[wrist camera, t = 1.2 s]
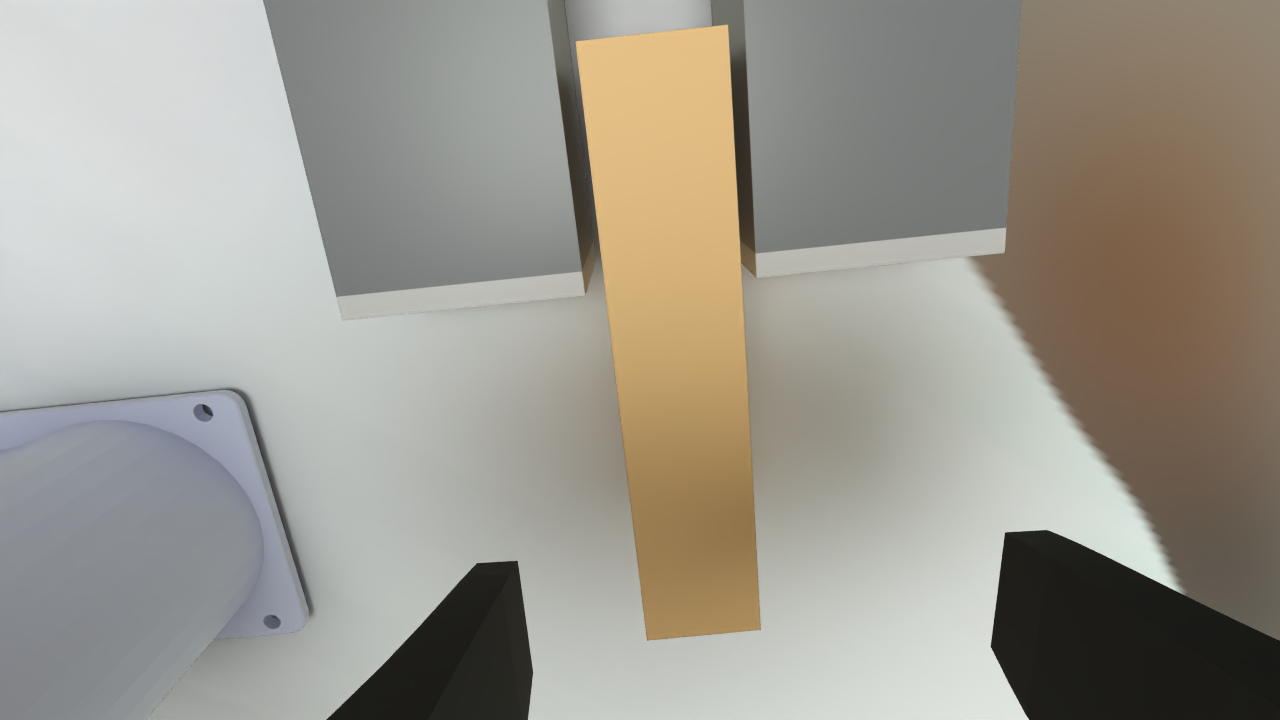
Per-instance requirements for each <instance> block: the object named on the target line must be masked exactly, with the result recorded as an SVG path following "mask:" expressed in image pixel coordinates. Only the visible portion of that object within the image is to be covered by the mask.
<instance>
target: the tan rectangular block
mask: <svg viewBox="0 0 1280 720" xmlns="http://www.w3.org/2000/svg"><path fill="white" fill-rule="evenodd" d="M576 50H577V58H578V66H579V75H580V83H581V91H582V100H583V108H584V117H585V125H586V133H587V142H588V150H589V159H590V167H591V175H592V184H593V192H594V200H595V209H596V217H597V226H598V234H599V242H600V251H601V259H602V268H603V276H604V284H605V293H606V301H607V309H608V318H609V326H610V335H611V343H612V351H613V360H614V368H615V377H616V385H617V393H618V402H619V410H620V418H621V427H622V435H623V444H624V452H625V460H626V469H627V477H628V486H629V494H630V502H631V511H632V519H633V527H634V536H635V544H636V553H637V561H638V569H639V578H640V586H641V594H642V603H643V611H644V620H645V628H646V636H647V640H657V639H668V638H679V637H689V636H700V635H711V634H721V633H732V632H743V631H753V630H761V624H760V605H759V587H758V568H757V550H756V532H755V513H754V495H753V476H752V458H751V439H750V421H749V403H748V384H747V366H746V347H745V329H744V310H743V292H742V274H741V255H740V237H739V218H738V200H737V181H736V163H735V145H734V126H733V108H732V89H731V71H730V52H729V34H728V25H720V26H711V27H702V28H693V29H684V30H674V31H665V32H656V33H647V34H638V35H629V36H619V37H610V38H601V39H592V40H583V41H576Z"/></svg>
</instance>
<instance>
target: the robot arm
mask: <svg viewBox="0 0 1280 720" xmlns="http://www.w3.org/2000/svg"><path fill="white" fill-rule="evenodd" d="M202 404H204V405H207V406H208V407H210V408H211V410H212V412H213V416H209V415H208V414H206V413H205V412H204V410H203V409H202ZM271 615H275V616H276V617H278V618H279V620H276V619H274V618H272V616H271ZM308 619H309V609H308V606H307V603H306V600H305V596H304V593H303V590H302V587H301V583H300V580H299V577H298V573H297V570H296V567H295V564H294V560H293V557H292V554H291V551H290V547H289V544H288V541H287V538H286V534H285V531H284V528H283V525H282V521H281V518H280V515H279V511H278V508H277V505H276V502H275V498H274V495H273V492H272V489H271V485H270V482H269V479H268V476H267V472H266V469H265V466H264V463H263V459H262V456H261V453H260V449H259V446H258V443H257V440H256V436H255V433H254V430H253V427H252V423H251V420H250V417H249V414H248V410H247V407H246V404H245V402H244V400H243V398H241V397H240V396H239V395H238V394H237V393H235V392H233V391H230V390H216V391H207V392H197V393H187V394H177V395H167V396H157V397H147V398H137V399H128V400H118V401H108V402H98V403H88V404H78V405H68V406H58V407H49V408H39V409H29V410H19V411H9V412H0V720H146V719H147V717H148V716H149V715H150V714H151V713H152V712H153V710H154V709H155V708H156V707H157V706H158V704H159V703H160V702H161V701H162V700H163V698H164V697H165V696H166V695H167V694H168V693H169V691H170V690H171V689H172V688H173V687H174V685H175V684H176V683H177V682H178V681H179V679H180V678H181V677H182V676H183V675H184V674H185V672H186V671H187V670H188V669H189V668H190V666H191V665H192V664H193V663H194V662H195V661H196V659H197V658H198V657H199V656H200V655H201V653H202V652H203V651H204V650H205V649H206V647H207V646H208V645H209V644H210V643H211V642H212V640H220V639H231V638H241V637H252V636H262V635H273V634H283V633H293V632H297V631H299V630H301V629H302V628H303V627H304V625H305V624H306V622H307V621H308ZM991 648H992V650H993V652H994V654H995V656H996V658H997V660H998V662H999V664H1000V666H1001V668H1002V670H1003V672H1004V674H1005V676H1006V678H1007V680H1008V682H1009V684H1010V686H1011V688H1012V690H1013V692H1014V693H1015V695H1016V697H1017V699H1018V701H1019V703H1020V705H1021V706H1022V708H1023V710H1024V712H1025V714H1026V715H1027V717H1028V718H1029V720H1280V641H1279V640H1276V639H1275V638H1272V637H1270V636H1268V635H1266V634H1264V633H1262V632H1260V631H1257V630H1255V629H1253V628H1251V627H1249V626H1247V625H1245V624H1243V623H1240V622H1238V621H1236V620H1234V619H1232V618H1230V617H1228V616H1226V615H1224V614H1222V613H1219V612H1217V611H1215V610H1213V609H1211V608H1209V607H1207V606H1205V605H1203V604H1201V603H1199V602H1197V601H1195V600H1193V599H1191V598H1189V597H1187V596H1185V595H1183V594H1181V593H1178V592H1176V591H1174V590H1172V589H1170V588H1168V587H1166V586H1164V585H1162V584H1160V583H1158V582H1156V581H1154V580H1152V579H1150V578H1148V577H1146V576H1144V575H1142V574H1140V573H1138V572H1136V571H1134V570H1132V569H1130V568H1128V567H1126V566H1124V565H1122V564H1120V563H1118V562H1116V561H1114V560H1112V559H1110V558H1108V557H1106V556H1104V555H1102V554H1100V553H1098V552H1095V551H1093V550H1091V549H1089V548H1087V547H1085V546H1083V545H1081V544H1079V543H1076V542H1074V541H1072V540H1070V539H1067V538H1065V537H1063V536H1060V535H1058V534H1055V533H1053V532H1051V531H1048V530H1040V531H1023V532H1006V533H1005V538H1004V546H1003V554H1002V562H1001V570H1000V578H999V586H998V594H997V602H996V610H995V617H994V625H993V633H992V641H991ZM532 677H533V669H532V661H531V654H530V647H529V640H528V633H527V625H526V618H525V611H524V604H523V596H522V589H521V582H520V575H519V567H518V561H508V562H491V563H477V564H476V565H475V566H474V567H473V568H472V569H471V570H470V571H469V572H468V573H467V574H466V576H465V577H464V578H463V579H462V580H461V581H460V582H459V583H458V584H457V585H456V586H455V587H454V589H453V590H452V591H451V592H450V593H449V594H448V595H447V596H446V597H445V599H444V600H443V601H442V602H441V603H440V604H439V605H438V606H437V608H436V609H435V610H434V611H433V612H432V613H431V614H430V615H429V616H428V617H427V619H426V620H425V621H424V622H423V623H422V624H421V625H420V626H419V627H418V628H417V629H416V631H415V632H414V633H413V634H412V635H411V636H410V637H409V638H408V639H407V640H406V641H405V642H404V643H403V644H402V645H401V646H400V647H399V649H398V650H397V651H396V652H395V653H394V654H393V655H392V656H391V657H390V658H389V659H388V660H387V661H386V662H385V663H384V664H383V665H382V666H381V667H380V668H379V669H378V670H377V671H376V672H375V673H374V674H373V675H372V676H371V677H370V678H369V679H368V680H367V681H366V682H365V683H364V684H363V685H362V686H361V687H360V688H359V689H358V690H357V691H356V692H355V693H354V694H353V695H352V696H351V697H350V698H349V699H348V700H347V701H345V702H344V703H343V704H342V705H341V706H340V707H339V708H338V709H337V710H336V711H335V712H334V713H333V714H332V715H331V716H330V717H329V718H328V719H327V720H528V713H529V705H530V695H531V686H532Z"/></svg>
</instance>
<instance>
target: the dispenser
mask: <svg viewBox="0 0 1280 720" xmlns="http://www.w3.org/2000/svg"><path fill="white" fill-rule="evenodd" d="M263 2H264V6H265V10H266V14H267V18H268V22H269V26H270V30H271V34H272V38H273V42H274V46H275V50H276V54H277V58H278V62H279V66H280V70H281V74H282V78H283V82H284V86H285V91H286V95H287V99H288V103H289V107H290V111H291V115H292V119H293V123H294V127H295V131H296V135H297V139H298V143H299V147H300V151H301V155H302V159H303V163H304V167H305V171H306V175H307V179H308V183H309V187H310V192H311V196H312V200H313V204H314V208H315V212H316V216H317V220H318V224H319V228H320V232H321V236H322V240H323V244H324V248H325V252H326V256H327V260H328V264H329V268H330V272H331V276H332V280H333V284H334V288H335V292H336V297H337V301H338V305H339V309H340V313H341V317H342V321H344V320H354V319H364V318H374V317H383V316H393V315H403V314H413V313H422V312H432V311H442V310H451V309H461V308H471V307H481V306H490V305H500V304H510V303H520V302H529V301H539V300H549V299H559V298H568V297H578V296H585V295H586V291H587V288H588V284H589V281H590V278H591V274H592V271H593V267H594V264H595V261H596V257H595V249H594V241H593V233H592V225H591V216H590V208H589V200H588V192H587V184H586V175H585V167H584V159H583V151H582V143H581V134H580V126H579V118H578V110H577V102H576V94H575V85H574V77H573V69H572V61H571V53H570V44H569V36H568V28H567V20H566V12H565V3H564V0H263ZM1021 5H1022V0H711V9H712V25H713V26H720V25H728V34H729V52H730V71H731V89H732V108H733V126H734V145H735V163H736V181H737V200H738V218H739V237H740V255H741V262H742V263H743V264H744V265H745V266H746V267H747V269H748V270H749V271H750V272H751V273H752V274H753V275H754V276H755V277H756V278H763V277H773V276H782V275H792V274H802V273H812V272H821V271H831V270H841V269H851V268H860V267H870V266H880V265H889V264H899V263H909V262H919V261H928V260H938V259H948V258H958V257H967V256H977V255H986V254H996V253H1004V252H1005V237H1006V223H1007V207H1008V193H1009V180H1010V179H1009V178H1010V164H1011V151H1012V136H1013V121H1014V106H1015V93H1016V77H1017V63H1018V49H1019V34H1020V19H1021Z"/></svg>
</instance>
